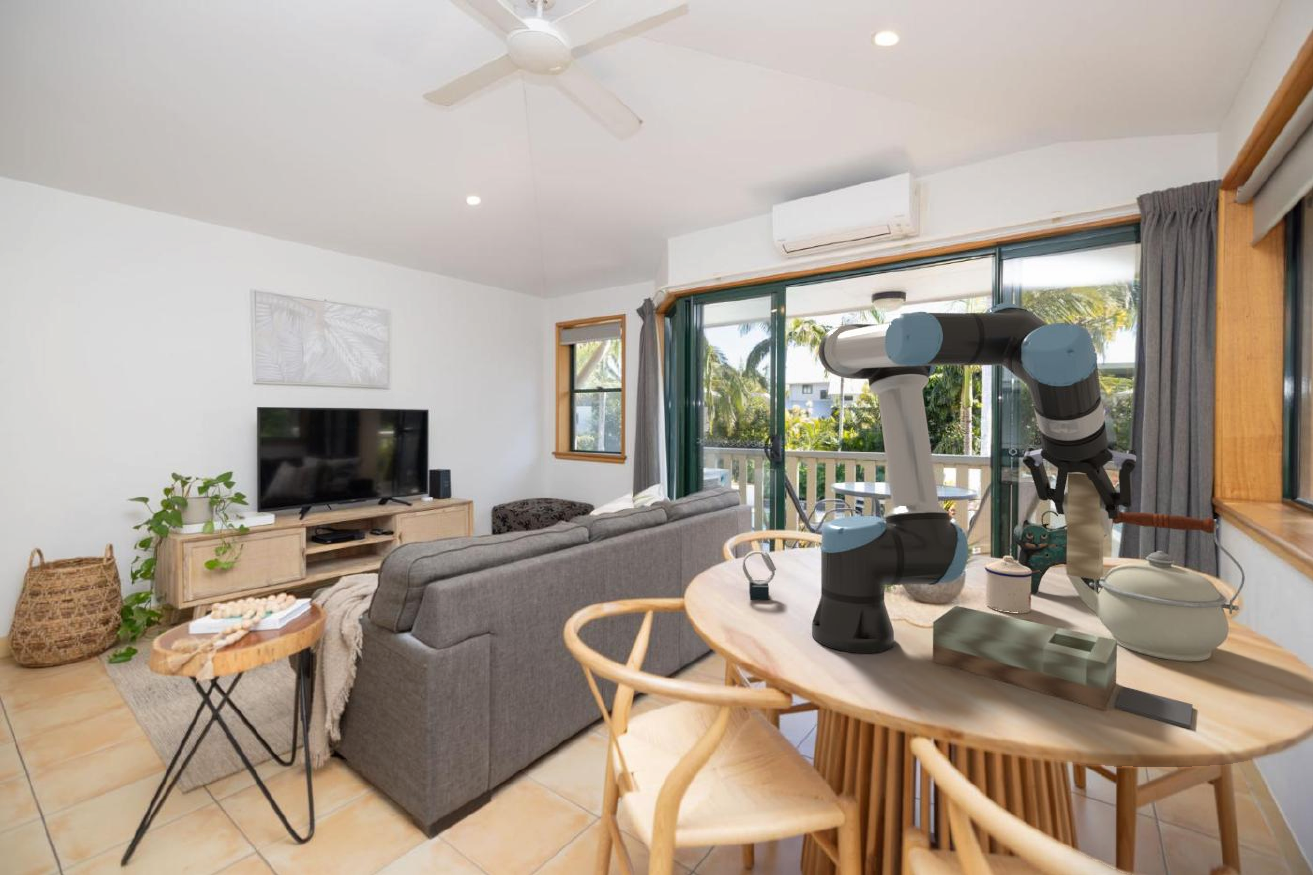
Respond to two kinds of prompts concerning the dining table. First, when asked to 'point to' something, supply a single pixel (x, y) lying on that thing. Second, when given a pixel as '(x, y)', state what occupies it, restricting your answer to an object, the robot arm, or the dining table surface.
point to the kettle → (1161, 599)
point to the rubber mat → (1155, 707)
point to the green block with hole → (1028, 655)
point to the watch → (759, 587)
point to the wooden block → (1084, 528)
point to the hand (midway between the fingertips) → (1089, 525)
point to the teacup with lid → (1008, 586)
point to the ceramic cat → (1042, 549)
